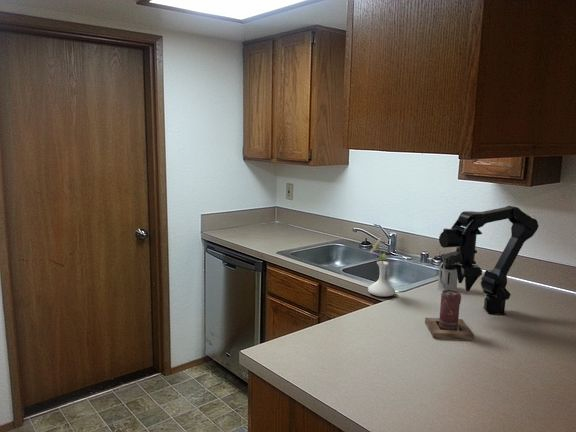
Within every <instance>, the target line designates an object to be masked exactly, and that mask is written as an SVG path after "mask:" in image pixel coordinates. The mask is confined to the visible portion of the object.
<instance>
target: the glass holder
mask: <svg viewBox="0 0 576 432" xmlns="http://www.w3.org/2000/svg"><path fill="white" fill-rule="evenodd" d="M444 254H445V253H444ZM444 254H441V255H440V261H439V267H438V269H439V270H438V279H437V281H438V283H437V286H436V289H437V291H440V292H443V291H444V290H452V291H456V292H458V277H457V272H456V268H455V267H454V266H453V265H452V264H451V265H450V266H446V265H445V264H444V262H443V259H442V255H444Z"/></svg>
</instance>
